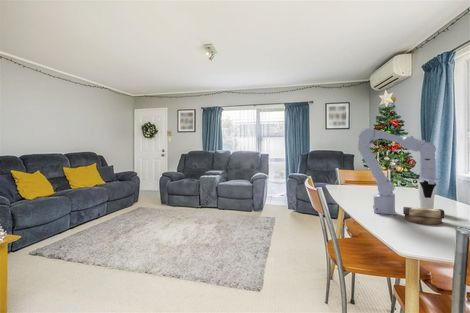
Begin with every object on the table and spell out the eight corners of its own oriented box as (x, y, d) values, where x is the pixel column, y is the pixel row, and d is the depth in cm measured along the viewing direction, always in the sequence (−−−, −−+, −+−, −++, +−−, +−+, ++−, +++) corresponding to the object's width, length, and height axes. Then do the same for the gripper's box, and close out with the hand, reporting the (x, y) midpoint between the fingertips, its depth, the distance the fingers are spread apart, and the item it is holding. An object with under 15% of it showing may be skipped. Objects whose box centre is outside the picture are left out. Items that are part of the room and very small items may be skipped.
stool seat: (407, 222, 103) (407, 213, 103) (402, 215, 114) (402, 206, 114) (445, 226, 97) (445, 217, 97) (437, 218, 108) (437, 209, 108)
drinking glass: (436, 213, 115) (436, 183, 115) (419, 211, 119) (418, 182, 118) (433, 210, 121) (433, 181, 120) (417, 208, 125) (417, 180, 124)
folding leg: (403, 215, 107) (403, 208, 107) (402, 213, 110) (402, 206, 110) (444, 218, 101) (444, 211, 101) (442, 216, 103) (442, 209, 103)
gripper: (443, 170, 100) (443, 201, 101) (434, 167, 113) (434, 195, 114) (422, 169, 104) (422, 200, 104) (416, 166, 116) (416, 194, 117)
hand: (427, 197), depth 109 cm, fingers closed
